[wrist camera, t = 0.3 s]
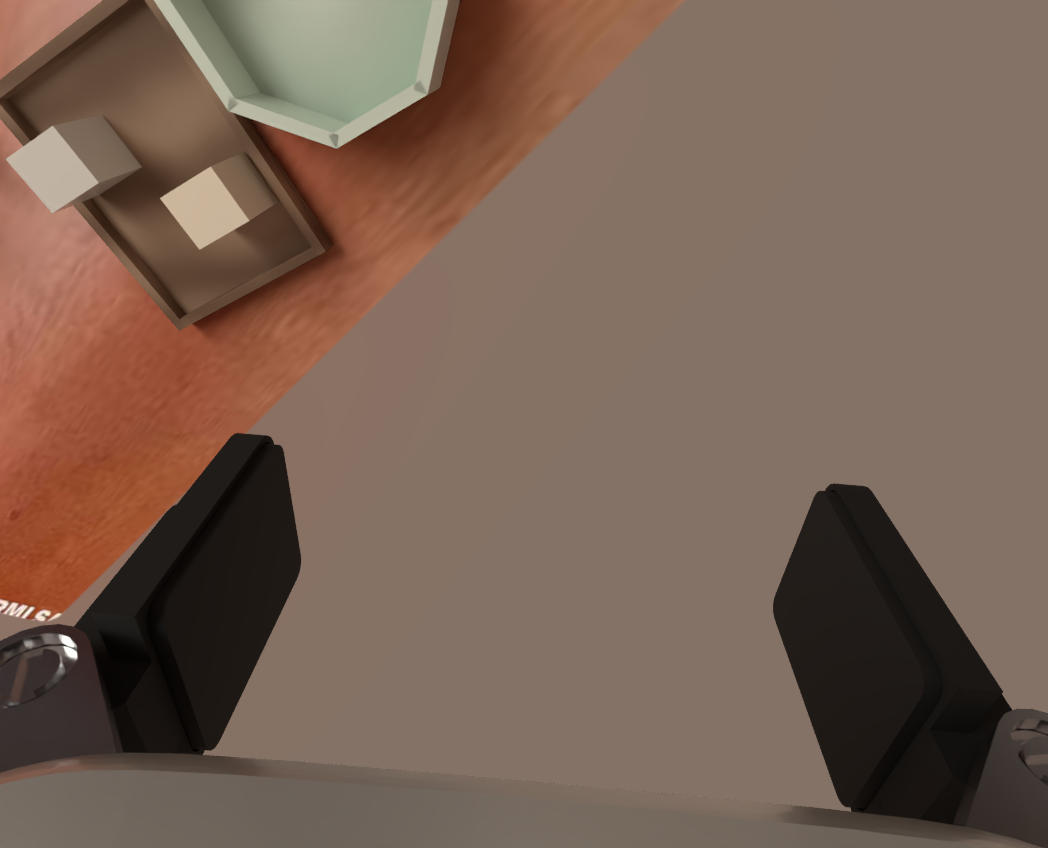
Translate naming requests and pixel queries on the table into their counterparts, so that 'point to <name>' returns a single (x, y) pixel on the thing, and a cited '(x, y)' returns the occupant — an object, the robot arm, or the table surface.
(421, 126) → the table surface
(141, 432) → the table surface
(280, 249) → the walnut tray
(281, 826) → the robot arm
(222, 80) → the celadon bowl
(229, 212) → the beige upright box
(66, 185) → the light grey block
